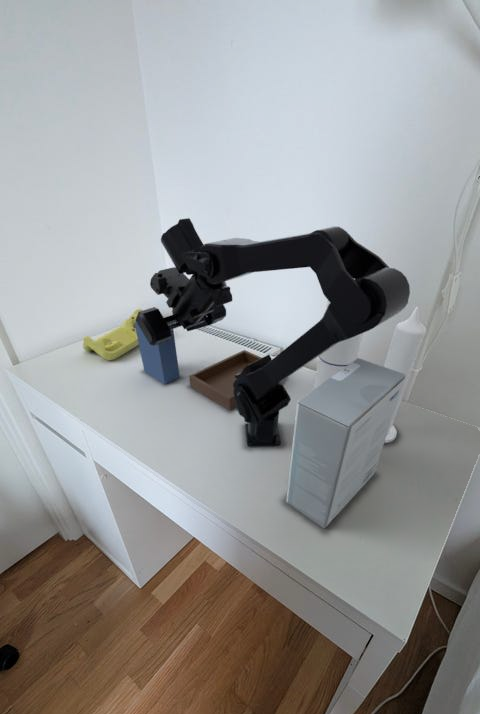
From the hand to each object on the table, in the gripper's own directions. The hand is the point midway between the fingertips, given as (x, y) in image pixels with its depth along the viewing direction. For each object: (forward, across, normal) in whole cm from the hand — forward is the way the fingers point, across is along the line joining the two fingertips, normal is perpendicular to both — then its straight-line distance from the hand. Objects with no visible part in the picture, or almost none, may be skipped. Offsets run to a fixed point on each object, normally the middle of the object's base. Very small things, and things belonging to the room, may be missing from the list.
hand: (170, 335), depth 74 cm
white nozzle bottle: (-22, -17, +39) cm, 48 cm away
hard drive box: (-23, +2, +40) cm, 46 cm away
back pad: (+13, 0, +4) cm, 14 cm away
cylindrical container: (-14, -16, +31) cm, 38 cm away
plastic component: (+29, -2, -11) cm, 31 cm away
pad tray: (+2, -11, +16) cm, 19 cm away
